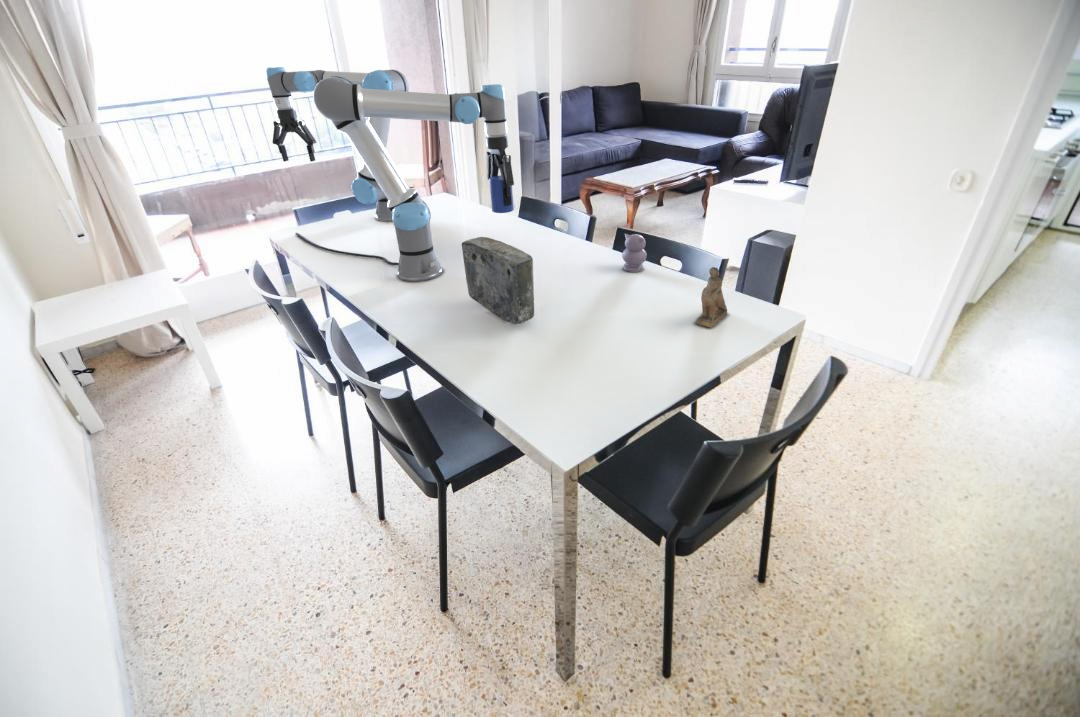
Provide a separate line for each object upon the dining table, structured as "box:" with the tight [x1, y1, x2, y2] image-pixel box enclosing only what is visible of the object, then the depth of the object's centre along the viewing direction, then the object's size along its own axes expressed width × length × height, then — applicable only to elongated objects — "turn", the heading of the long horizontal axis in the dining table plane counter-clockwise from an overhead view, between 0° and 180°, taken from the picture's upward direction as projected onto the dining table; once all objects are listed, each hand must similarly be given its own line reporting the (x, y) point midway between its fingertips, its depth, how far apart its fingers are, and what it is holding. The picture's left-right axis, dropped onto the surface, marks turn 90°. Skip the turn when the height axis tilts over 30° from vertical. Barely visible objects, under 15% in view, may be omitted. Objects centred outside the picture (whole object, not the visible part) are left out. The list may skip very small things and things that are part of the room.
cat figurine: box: [621, 233, 648, 273], centre depth 170 cm, size 8×8×12 cm
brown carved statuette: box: [695, 266, 728, 328], centre depth 135 cm, size 12×6×18 cm, turn 136°
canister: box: [488, 174, 515, 214], centre depth 181 cm, size 8×8×12 cm
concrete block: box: [461, 236, 535, 325], centre depth 141 cm, size 27×9×20 cm, turn 36°
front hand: (502, 202), depth 182 cm, fingers closed on canister, 8 cm apart
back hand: (299, 161), depth 224 cm, fingers open, 13 cm apart
